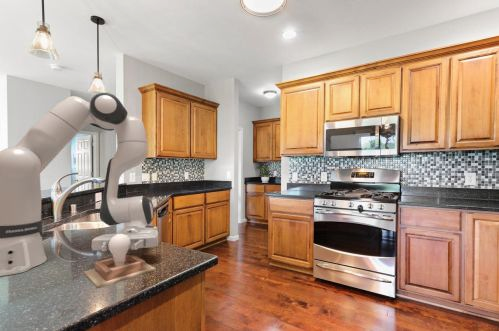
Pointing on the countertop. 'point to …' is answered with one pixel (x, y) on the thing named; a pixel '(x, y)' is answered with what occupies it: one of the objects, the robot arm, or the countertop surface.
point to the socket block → (117, 270)
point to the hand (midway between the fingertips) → (118, 248)
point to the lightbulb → (119, 248)
